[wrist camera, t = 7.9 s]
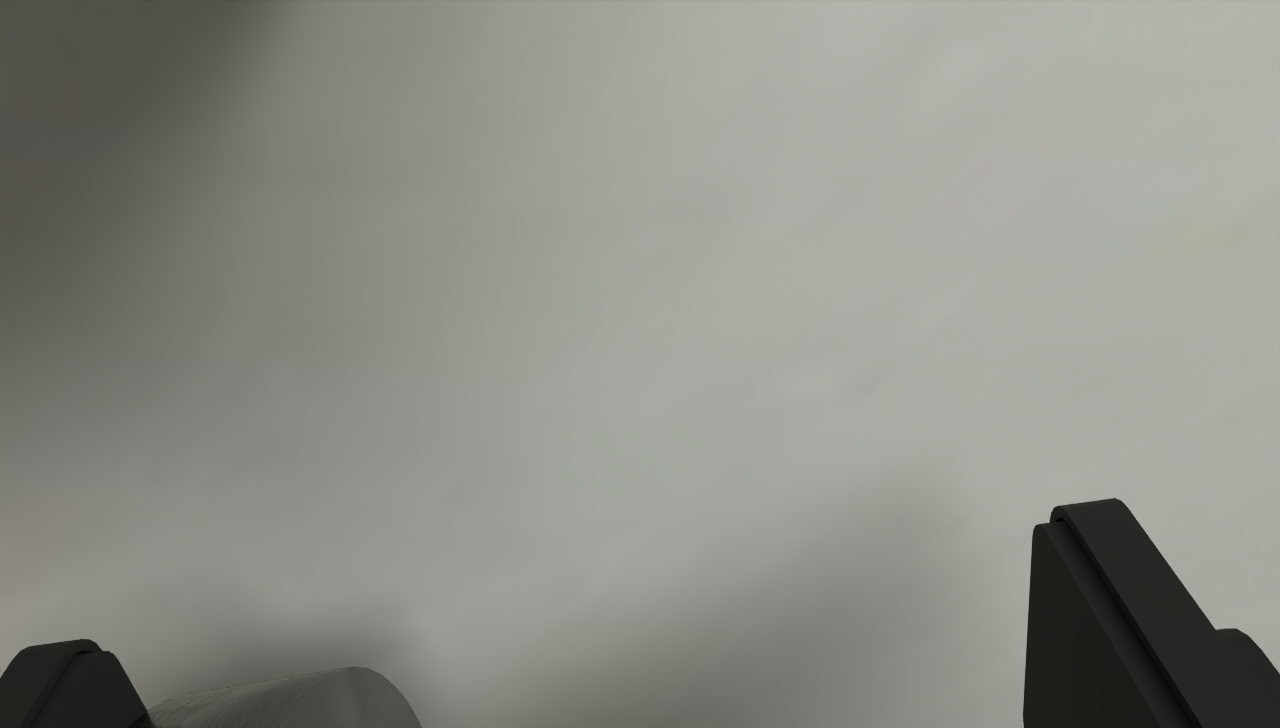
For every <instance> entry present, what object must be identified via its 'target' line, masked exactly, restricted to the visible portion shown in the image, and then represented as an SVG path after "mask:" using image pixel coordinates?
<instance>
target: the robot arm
mask: <svg viewBox="0 0 1280 728" xmlns="http://www.w3.org/2000/svg"><path fill="white" fill-rule="evenodd" d="M146 712H147V710H146V708H145V706H144V705H143V703H142V701H141V699H140V698H139V696H138V694H137V692H136V690H135V689H134V687H133V685H132V683H131V682H130V680H129V678H128V676H127V675H126V673H125V671H124V669H123V668H122V666H121V664H120V662H119V660H118V659H117V658H116V657H115V655H114V654H112V653H111V652H109V651H102V650H101V649H100V647H99V646H98V645H97V644H96V643H95V642H93V641H91V640H89V639H80V640H72V641H65V642H58V643H50V644H43V645H36V646H29V647H27V648H25V649H23V650H21V651H20V652H19V653H18V654H17V655H16V656H15V658H14V659H13V660H12V661H11V663H10V664H9V666H8V667H7V669H6V670H5V672H4V673H3V675H2V676H1V678H0V728H127V727H128V726H129V725H131V724H132V723H133V722H134V721H136V720H137V719H138V718H139V717H141V716H142V715H143V714H144V713H146ZM1023 722H1024V728H1280V674H1279V672H1278V671H1277V670H1276V668H1275V667H1274V666H1273V664H1272V663H1271V662H1270V661H1269V659H1268V658H1267V657H1266V655H1265V654H1264V653H1263V651H1262V650H1261V649H1260V648H1259V647H1258V646H1257V644H1256V643H1255V642H1254V641H1253V640H1252V639H1251V638H1250V637H1249V636H1248V635H1246V634H1245V633H1243V632H1241V631H1239V630H1238V629H1219V630H1215V628H1214V627H1213V626H1212V624H1211V623H1210V621H1209V620H1208V619H1207V617H1206V616H1205V614H1204V613H1203V612H1202V610H1201V609H1200V608H1199V606H1198V605H1197V603H1196V602H1195V601H1194V599H1193V598H1192V596H1191V595H1190V594H1189V592H1188V591H1187V589H1186V588H1185V587H1184V585H1183V584H1182V582H1181V581H1180V580H1179V578H1178V577H1177V575H1176V574H1175V573H1174V571H1173V570H1172V569H1171V567H1170V566H1169V564H1168V563H1167V562H1166V560H1165V559H1164V557H1163V556H1162V555H1161V553H1160V552H1159V550H1158V549H1157V548H1156V546H1155V545H1154V543H1153V542H1152V541H1151V539H1150V538H1149V537H1148V535H1147V534H1146V532H1145V531H1144V530H1143V528H1142V527H1141V525H1140V524H1139V523H1138V521H1137V520H1136V518H1135V517H1134V516H1133V514H1132V513H1131V511H1130V510H1129V509H1128V507H1127V506H1126V505H1125V504H1124V503H1123V502H1122V501H1121V500H1118V499H1116V498H1113V499H1106V500H1099V501H1091V502H1084V503H1077V504H1069V505H1062V506H1057V507H1055V508H1054V509H1053V511H1052V513H1051V517H1050V523H1045V524H1038V525H1036V526H1035V528H1034V530H1033V537H1032V556H1031V575H1030V594H1029V613H1028V631H1027V650H1026V669H1025V688H1024V707H1023Z"/></svg>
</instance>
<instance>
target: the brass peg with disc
mask: <svg viewBox="0 0 1280 728" xmlns="http://www.w3.org/2000/svg"><path fill="white" fill-rule="evenodd" d="M127 728H422V727H421V725H420V723H419V721H418V719H417V717H416V715H415V714H414V712H413V710H412V709H411V707H410V705H409V704H408V702H407V701H406V699H405V698H404V697H403V696H402V694H401V693H400V692H399V690H398V689H397V688H396V687H395V686H394V685H393V684H392V683H391V682H390V681H388V680H387V679H386V678H385V677H384V676H383V675H381V674H379V673H377V672H375V671H373V670H370V669H368V668H359V667H349V668H343V669H337V670H331V671H325V672H320V673H314V674H308V675H302V676H296V677H290V678H284V679H278V680H272V681H266V682H260V683H254V684H248V685H242V686H236V687H230V688H224V689H218V690H212V691H206V692H200V693H194V694H189V695H185V696H181V697H177V698H174V699H170V700H166V701H164V702H162V703H160V704H159V705H157V706H155V707H153V708H151V709H149V710H147V712H146V713H144V714H143V715H142V716H141V717H139V718H138V719H137V720H136V721H134V722H133V723H132V724H131V725H129V726H128V727H127Z"/></svg>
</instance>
